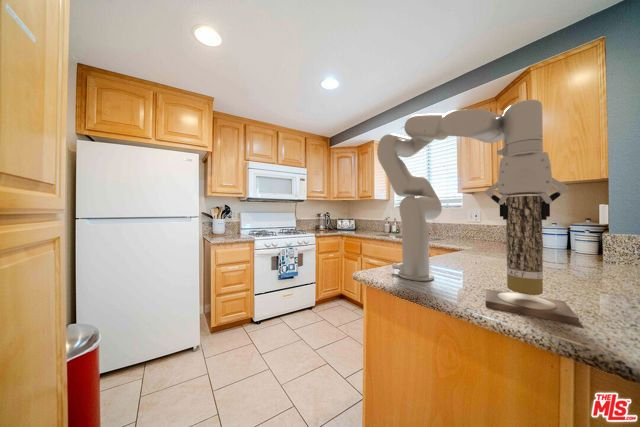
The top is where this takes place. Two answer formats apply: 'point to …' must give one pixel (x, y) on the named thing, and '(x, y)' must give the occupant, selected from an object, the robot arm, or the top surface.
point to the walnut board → (531, 306)
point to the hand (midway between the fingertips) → (523, 219)
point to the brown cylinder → (524, 243)
